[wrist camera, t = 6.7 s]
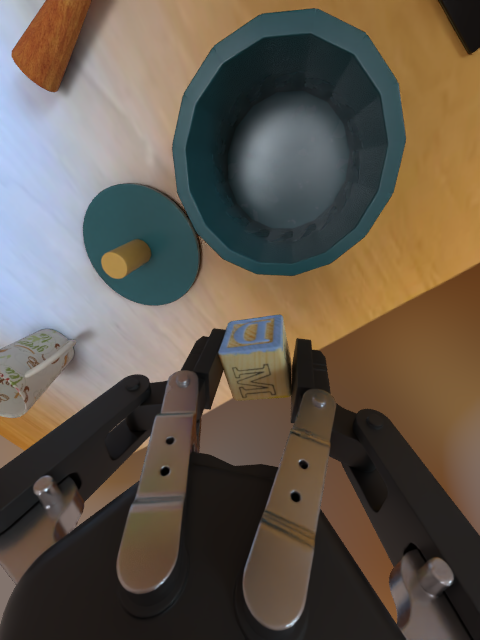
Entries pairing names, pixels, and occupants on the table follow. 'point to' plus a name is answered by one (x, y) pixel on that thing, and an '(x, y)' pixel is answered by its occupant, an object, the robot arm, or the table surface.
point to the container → (288, 142)
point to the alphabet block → (256, 358)
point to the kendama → (50, 41)
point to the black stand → (465, 21)
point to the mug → (31, 369)
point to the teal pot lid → (141, 244)
